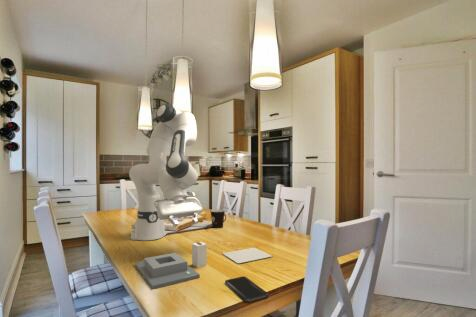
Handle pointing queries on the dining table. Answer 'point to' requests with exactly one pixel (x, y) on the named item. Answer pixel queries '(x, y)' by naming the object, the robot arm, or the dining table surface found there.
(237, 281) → the phone
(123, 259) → the dining table surface
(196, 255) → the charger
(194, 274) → the power dock
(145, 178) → the robot arm
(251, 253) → the paper stack
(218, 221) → the coffee mug
